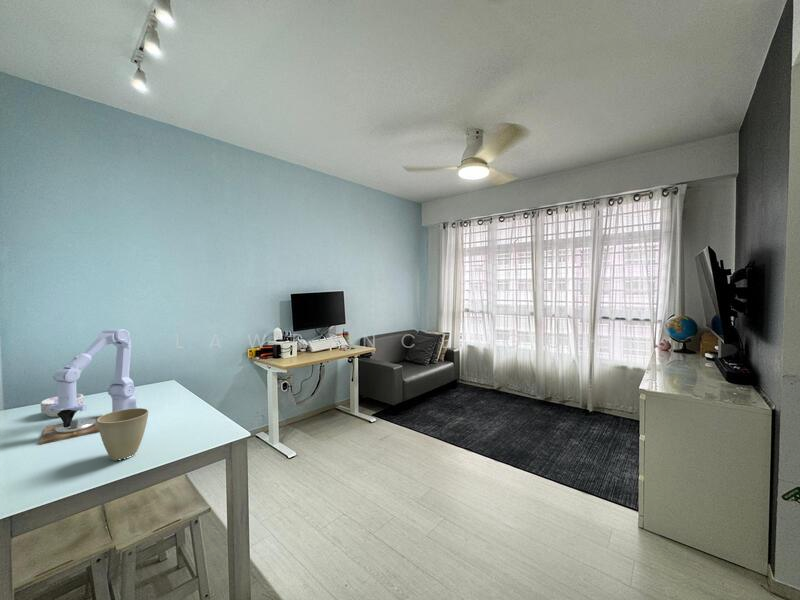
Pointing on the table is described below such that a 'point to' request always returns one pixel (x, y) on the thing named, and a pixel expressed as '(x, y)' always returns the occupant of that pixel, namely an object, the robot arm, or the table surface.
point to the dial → (76, 426)
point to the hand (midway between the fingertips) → (67, 426)
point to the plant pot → (122, 431)
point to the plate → (52, 436)
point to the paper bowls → (55, 402)
